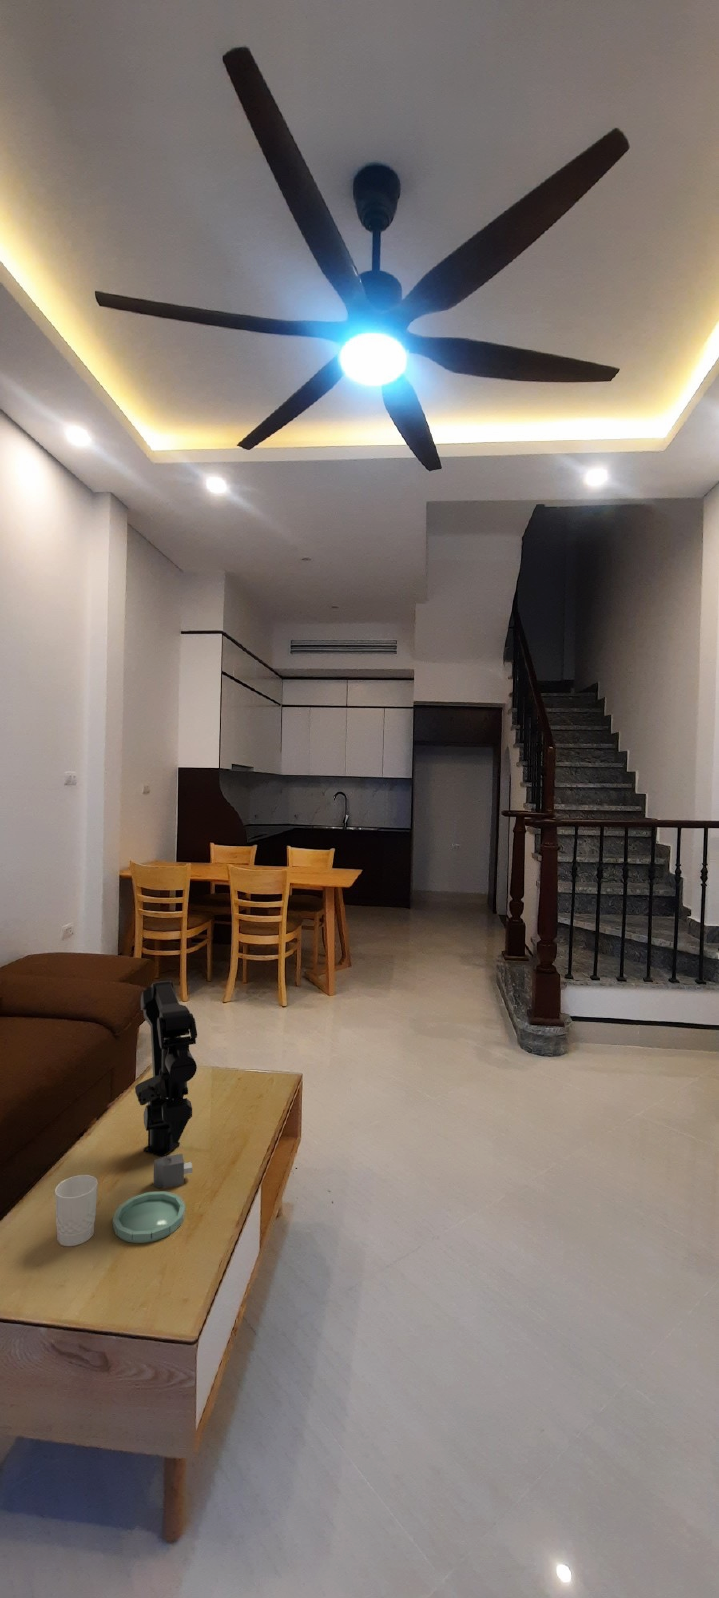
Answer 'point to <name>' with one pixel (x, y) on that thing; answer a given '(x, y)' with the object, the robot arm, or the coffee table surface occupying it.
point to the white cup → (75, 1209)
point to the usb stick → (170, 1171)
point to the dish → (149, 1217)
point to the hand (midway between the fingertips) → (173, 1133)
